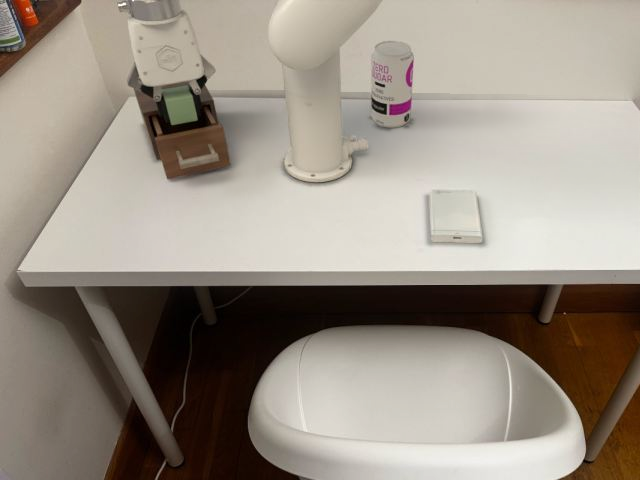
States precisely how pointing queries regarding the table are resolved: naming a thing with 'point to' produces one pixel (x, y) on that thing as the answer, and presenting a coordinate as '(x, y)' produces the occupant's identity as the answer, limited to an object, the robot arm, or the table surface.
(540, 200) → the table surface
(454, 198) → the hard drive
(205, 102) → the cabinet
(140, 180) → the table surface
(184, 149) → the drawer
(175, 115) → the block
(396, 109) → the white soda can
